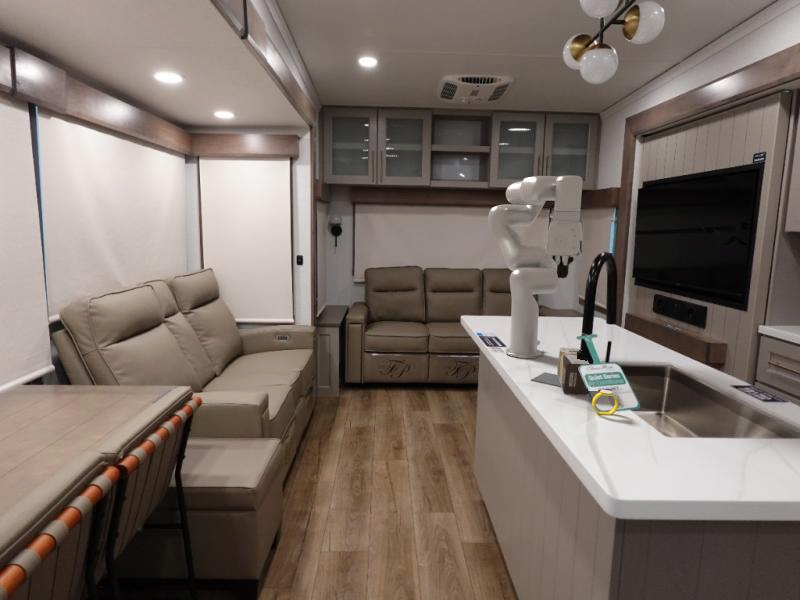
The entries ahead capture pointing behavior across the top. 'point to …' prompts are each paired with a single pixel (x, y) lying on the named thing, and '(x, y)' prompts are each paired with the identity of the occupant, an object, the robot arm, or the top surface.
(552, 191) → the robot arm
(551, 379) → the mat
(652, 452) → the top surface
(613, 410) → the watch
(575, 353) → the coffee box
